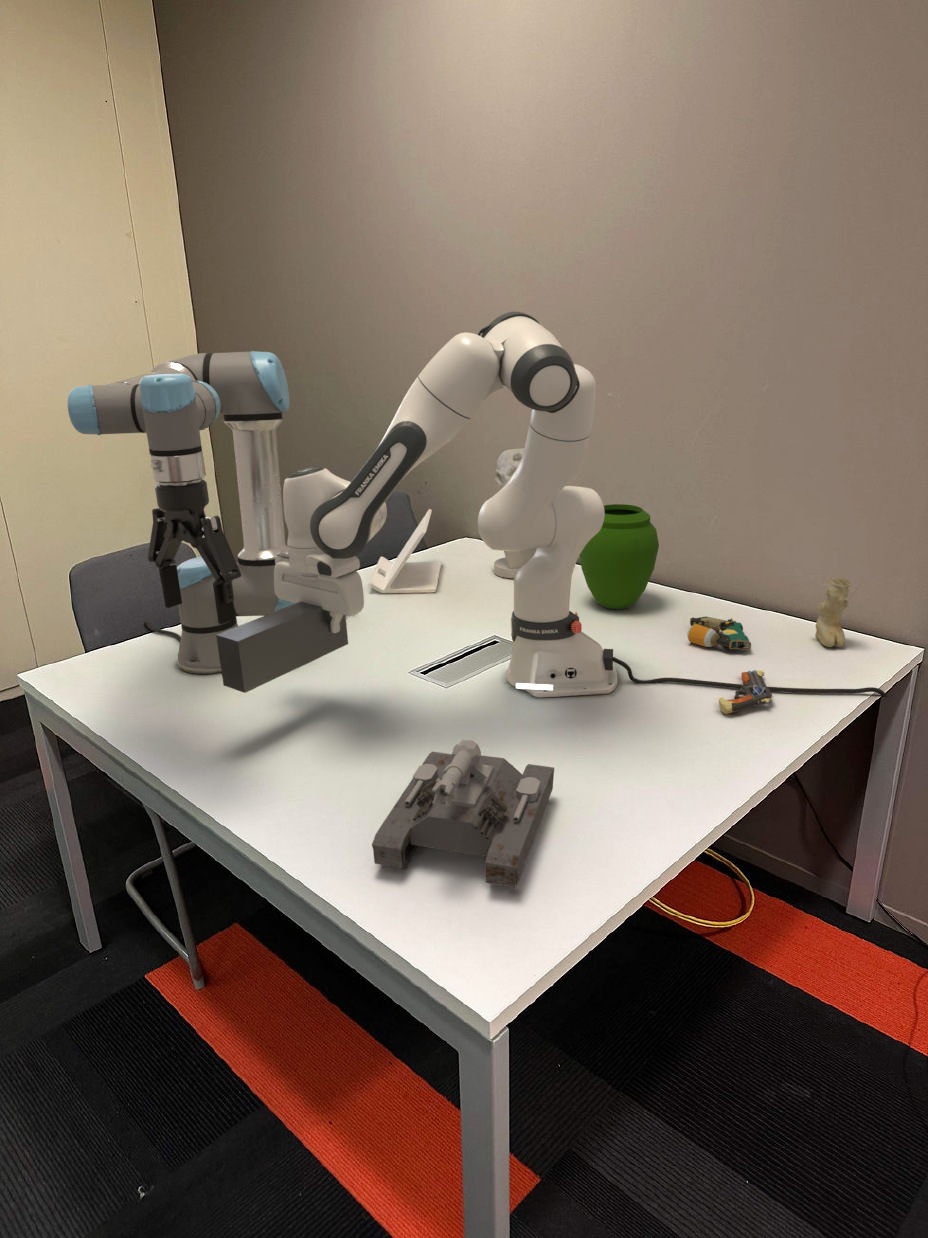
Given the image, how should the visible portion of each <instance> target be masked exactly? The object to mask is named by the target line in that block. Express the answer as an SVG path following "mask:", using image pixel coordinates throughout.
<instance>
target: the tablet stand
mask: <svg viewBox="0 0 928 1238" xmlns="http://www.w3.org/2000/svg"><path fill="white" fill-rule="evenodd" d="M432 512H433V511H432V509H431V508H429V509H428V510H427V511H426V513H425V515H424V516H423V517H422V519H421V521H420V522H419V523H418V525H417V526H416V528H415V529H414V531H413V532H412V534H411V536H410V537H409V538H408V540H407V542H406V543H405V544H404V546H403V548H402V549H401V551H400V552H399V554H398V555H397V557H396V558H395V560H394V562H392V561H390V560H389V559H387V558H386V557H384V556H379V559H378V561H377V563H376V565H375V567H374V571H373V572H372V575H371V577H370V580H369V582H368V584H367V585H368V586H369V587H370V588H372V589H374V590H376V591H377V592H378V593H380V594H404V593H405V594H410V593H411V594H412V593H413V594H414V593H417V594H418V593H421V594H422V593H436V592H437V589H438V583H439V579H440V572H441V569H442V562H440V561H421V562H420V561H418V562H417V561H416V562H408V560H409V558H410V557H411V555H412V554H413V553H414V551H415V550H416V548H417V546H418V545H419V543H420V542H421V540H422V539H423V537H424V536H425V534H426V533H427V530H428V526H429V522H430V519H431V515H432Z"/></svg>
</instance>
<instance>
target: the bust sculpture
mask: <svg viewBox="0 0 928 1238" xmlns="http://www.w3.org/2000/svg"><path fill="white" fill-rule="evenodd" d="M523 451H524V447H522V448H512V449H506V450H504V451H502V452H501V454H500V455H499V457H498V459H497V461H496V468H495V471H494V480H495V482H496V484H497V486H498V487H501V489H502V488H503V487H504V486H505V484H506V483H507V482H508V481H509V479H510V478H511V477H512V475H513V474H514V472H515V470H516V469H517V467H518V465H519V463H520V461H521V458H522V455H523ZM536 550H537V548H533V549H527V550H520V551H503V553H504V557H502V558H498V559H496V560H495V561H494V562H493V573H494V574H495V575H496V576H497V577H500V578H506V579H514V578H515V575H516V573H517V571H518V570H519V569H520V568H521V567H522V566H523V565H525V564H526V563H527V562H528V561H529V560H530V559H531V558H532V557H533V555H534V554H535V552H536Z"/></svg>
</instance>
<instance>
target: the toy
mask: <svg viewBox="0 0 928 1238" xmlns="http://www.w3.org/2000/svg"><path fill="white" fill-rule="evenodd" d="M554 776H555V767H553V766H546V765H539V764H530V763H528V764H527V765H526V766H525V768H524V770H523V772H522V773H521V772H520V771H519V770H518V769H517V768H516V767H514V766H513V765H512V764H511V763H510V762H509V761H508V760H507V759H506V758H505V757H499V756H497V757H496V756H492V755H491V756H490V755H482V751H481V747H480V746H479V744H478V743H477V742H475V741H474V740H473V739H472V740H471V739H462V740H460V741H459V742H457V743H456V744H455V745H454V746H453V748H452V752H451V753H445V752H438V751H431V752H429V754H427V756H426V758H425V759H424V761H423V762H422V764H421V765H419V766H418V767H417V769H416V770H415V772H414V773H413V775H412V779H411V780H410V782H409V783H408V785H407V786H406V788H405V789H404V791H403V792H402V794H401V795H400V797H399V798H398V800H396V803H395V804H394V805H393V807H392V809H391V810H390V812H389V813H388V815H387V816H386V817H385V819H384V820H383V822H382V823H381V825H380V827H379V829H377V831H376V833H375V835H374V838H373V840H372V843H371V847H372V851H373V852H372V853H373V862H374V864H375V865H380V866H386V867H393V868H398V869H407V868H408V867H409V864H410V863H411V861H412V860H413V858H414V856H415V855H416V853H417V851H418V850H419V847H424V848H429V849H430V848H431V849H437V850H443V851H450V852H456V853H462V854H467V855H475V856H480V857H481V856H482V857H486V858H485V862H484V869H485V871H484V873H485V883H486V884H492V885H499V886H505V887H511V888H516V886H518V884H519V881H520V879H521V875H522V873H523V870H524V868H525V865H526V863H527V859H528V857H529V855H530V852H531V849H532V846H533V844H534V842H535V838H536V836H537V833H538V830H539V828H540V825H541V822H542V820H543V817H544V814H545V812H546V809H547V806H548V804H549V801H550V798H551V795H552V792H553V789H554Z"/></svg>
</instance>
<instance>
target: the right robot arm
mask: <svg viewBox="0 0 928 1238" xmlns="http://www.w3.org/2000/svg"><path fill="white" fill-rule="evenodd" d="M504 386H505V387H506V388H507V389H508V390H509V391H510V392H511V393H512V394H513V396H514V397H515V399H516V400H517V402H519V403H521V405H523V406H525V407H527V408H529V409H531V413H530V418H529V424H528V430H527V435H526V439H525V443H524V447H523V448H524V451H523V455H522V458H521V461H520V463H519V465H518V467H517V469H516V470H515V472H514V474H513V475H512V477H511V478H510V479H509V481H508V482H507V483H506V484H505V486H504V487H503V488H502V487H501V489H500V490H499V491H498V492H496V493H495V494H494V495H492V496H491V497H489V498H488V499H487V500H485V501H484V502H483V504H482V505H481V507H480V509H479V512H478V515H477V520H476V521H477V524H476V525H477V530H478V535H479V536H480V538H481V540H482V541H483V542H484V544H485V545H486V546H487V547H488V548H489V549H491V550H492V551H503V552H504V551H520V550H527V549H533V548H536V551H535V554H534V555H533V557H532V558H531V559H530V560H529V561H528V562H527V563H526V564H525V565H523V566H522V567H521V568H520V569H519V570H518V571H517V573H516V575H515V578H513V611H512V612H511V618H510V635H511V640H512V645H511V646H512V647H511V655H510V660H509V665H508V669H507V672H506V675H505V678H506V681H507V683H509V684H510V685H511V686H513V687H515V689H519V690H522V691H525V692H527V693H529V694H530V695H531V696H533V697H535V698H556V697H572V696H573V697H574V696H588V695H589V696H590V695H591V696H592V695H607V694H611V693H612V692H613V691H615V690H616V688H617V686H618V673H617V670H616V668H615V667H614V663H615V664H617V665H619V666H621V667H623V668H624V669H625V670H626V673H627V677H628V679H629V680H630V681H631V682H632V683H634V684H636V685H650V684H653V685H654V684H660V683H677V684H678V683H679V684H690V685H699V686H707V687H708V686H709V687H719V688H728V689H737V690H741V685H743V683H742V684H741V683H731V682H730V683H729V682H721V681H712V680H702V679H701V680H700V679H692V678H691V679H689V678H683V677H682V678H681V677H659V678H654V679H653V678H652V679H646V680H643V679H638V678H636V677H634V675H633V671H632V668H631V667H630V665H629V664H627V663H626V662H624V661H623V660H621V659H619V658H618V657H615V656H614V649H613V648H603V647H602V645H601V644H600V643H599V642H598V641H596V640H595V639H593V638H591V637H590V636H589V635H587V634H586V633H585V632H583V631H582V630H583V626H582V625H583V624H582V622H581V621H580V616H579V615H578V612H577V611H575V613H574V612H573V611H571V610H570V600H571V585H572V577H573V573H574V569H575V566H576V564H577V562H578V560H579V558H580V554H581V552H582V550H583V549H584V547H585V546H586V544H587V543H588V542H589V541H590V540H591V539H592V538H593V537H594V536H595V535H596V534H597V533H598V532H599V531H600V529H601V527H602V525H603V522H604V517H605V510H604V505H605V504H604V502H603V500H602V498H601V496H600V495H599V493H598V492H596V490H595V489H593V488H591V487H585V486H577V485H575V486H574V485H569V484H570V483H572V482H573V481H575V480H576V479H577V477H578V476H579V475H580V474H581V473H582V471H583V469H584V465H585V462H586V457H587V452H588V448H589V444H590V439H591V434H592V430H593V425H594V420H595V412H596V400H597V383H596V379H595V377H594V375H593V374H592V373H591V371H590V370H588V369H587V368H585V367H584V366H582V365H579V364H576V363H574V361H573V359H572V357H571V356H570V354H569V352H567V351H566V349H564V347H563V346H562V344H561V343H560V342H559V340H558V338H556V336H555V335H554V334H553V333H552V332H551V331H549V330H547V328H546V327H544V326H542V324H541V323H540V322H539V321H538V319H536V318H534V316H531V315H530V314H528V313H526V312H522V311H509V312H506V313H503V314H501V315H499V316H498V317H496V318H494V319H493V320H491V322H490V323H489V324H488V325H486V326H484V327H482V328H481V329H480V330H479V332H478V333H477V334H476V333H474V332H466V331H465V332H460V333H458V334H456V335H454V336H453V337H452V338H450V340H449V341H447V342H446V343H445V344H444V345H443V346H442V347H441V348H440V349H439V350H438V351H437V353H436V354H434V356H433V357H432V358H431V359H430V360H429V361H428V363H426V365H425V366H424V368H423V369H422V370H421V372H420V373H419V374H418V376H416V378H415V379H414V381H413V382H412V384H411V385H410V387H409V389H408V390H407V391H406V393H405V396H404V397H403V399H402V401H401V403H400V405H399V406H398V409H397V410H396V412H395V414H394V416H393V418H392V420H391V422H390V424H389V426H388V428H387V430H386V432H385V434H384V435H383V437H382V438H381V441H380V443H379V444H378V446H377V447H376V449H375V450H374V451H373V453H372V454H371V455H370V457H369V458H368V459H367V461H366V462H365V463H364V464H363V465H362V467H361V468H360V470H359V471H358V472H357V474H356V475H355V476H354V477H353V479H352V480H351V481H349V480H347V479H344V478H342V477H339V476H338V475H335V474H334V473H333V472H331V471H330V470H329V469H328V468H326V467H324V466H310V467H305V468H301V469H300V470H296V471H294V472H292V473H290V474H289V475H287V477H286V478H285V479H284V482H283V486H282V487H283V488H282V490H283V492H282V506H283V518H284V522H285V524H286V527H287V534H288V535H287V540H286V545H287V546H288V552H285V551H280V552H279V553H278V554H277V555H276V557H275V568H274V591H275V594H276V596H277V597H278V598H279V599H282V600H286V601H290V602H294V603H295V604H296V603H298V602H305V603H309V604H313V605H317V606H321V607H322V609H323V610H326V611H330V616H331V617H332V620H331V622H330V623H328V624H327V626H328V632H331V633H337V632H339V631H340V623H339V622H340V621H341V619H342V617H343V615H346V617H352V616H354V615H357V614H359V613H361V612H362V611H363V609H364V606H365V596H364V586H363V581H362V577H361V575H360V573H359V572H358V571H357V570H359V569H360V568H361V562H360V558H358V555H359V554H360V553H361V552H362V551H363V550H364V549H365V547H366V546H367V545H368V543H369V542H370V541H371V540H372V539H373V538H374V537H375V535H376V534H378V532H380V531H381V530H382V528H383V527H384V525H385V523H386V521H387V518H388V513H389V511H388V505H387V502H386V501H387V500H388V499H389V497H390V496H391V495H392V494H393V493H394V491H395V490H396V489H397V487H398V486H399V484H401V482H402V481H403V480H404V478H406V476H407V475H409V473H410V472H411V471H413V470H414V469H415V468H417V466H419V465H420V464H422V462H423V461H425V460H427V459H428V458H429V457H431V456H433V455H434V454H435V453H437V452H438V451H440V450H442V448H444V446H446V445H447V444H448V443H450V441H452V440H453V439H454V438H455V437H456V436H457V435H458V434H459V433H460V432H461V431H462V430H463V429H464V428H465V427H466V425H467V424H468V423H469V422H470V421H471V419H472V418H473V417H474V415H475V414H476V413H477V412H478V410H479V409H480V407H481V405H482V404H483V402H484V401H485V400H486V399H487V398H488V397H489V396H490V395H492V394H493V393H495V392H497V391H500V390H502V389H504ZM744 685H745V686H748V685H746V684H744ZM767 687H768V688H769V689H770V691H771V692H776V693H792V694H793V693H794V694H795V693H796V694H797V693H798V694H863V693H876V694H879V696H881V697H884V698H887V697H888V696H889V695H888V694H887V693H886V692H885V691H884V690H883V689H880V688H878V687H873V686H871V687H870V686H869V687H861V688H807V687H805V688H804V687H801V688H800V687H781V686H767Z"/></svg>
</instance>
